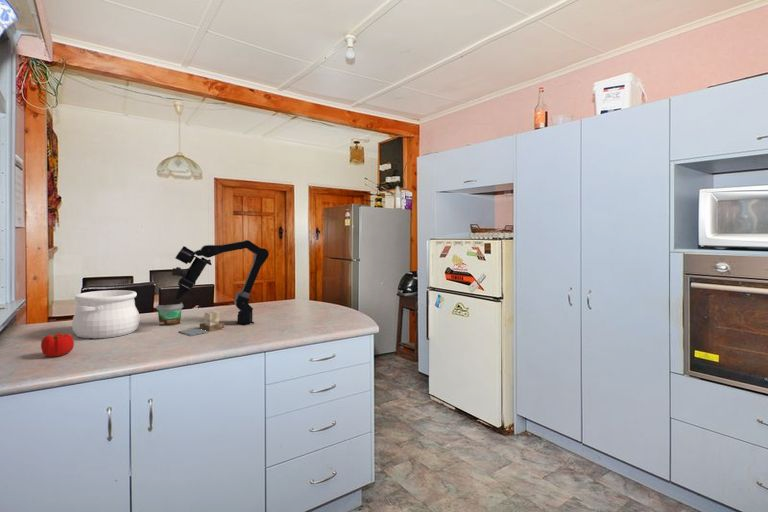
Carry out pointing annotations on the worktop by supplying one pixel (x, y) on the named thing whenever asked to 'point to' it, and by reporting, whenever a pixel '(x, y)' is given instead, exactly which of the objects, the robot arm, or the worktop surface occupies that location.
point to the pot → (105, 314)
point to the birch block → (211, 318)
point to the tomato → (57, 344)
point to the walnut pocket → (212, 327)
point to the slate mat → (193, 331)
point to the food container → (169, 314)
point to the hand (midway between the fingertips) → (177, 298)
